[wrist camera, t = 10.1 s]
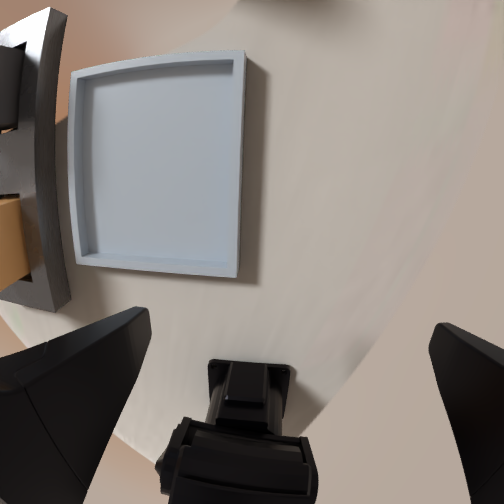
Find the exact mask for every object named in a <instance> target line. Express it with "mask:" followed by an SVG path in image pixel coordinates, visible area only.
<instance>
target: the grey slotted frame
mask: <svg viewBox="0 0 504 504" xmlns="http://www.w3.org/2000/svg"><path fill="white" fill-rule="evenodd" d="M67 16H68V15H66V14H64V13H62V12H60V11H57V10H55V9H53V8H50V7H49V8H47V9H45V10H42V11H40V12H38V13H36V14H34V15H31V16H29V17H27V18H25V19H23V20H21V21H19V22H17V23H16V24H14V25H12V26H10V27H8V28H6V29H4V30H3V31H1V32H0V45H2V46H7V47H11V48H16V49H20V50H24V51H25V57H24V64H23V71H22V79H21V89H20V100H19V116H18V130H14V131H10V132H7V133H3V134H1V130H0V198H2V197H3V194H14V193H20V203H21V213H22V221H23V229H24V236H25V243H26V249H27V255H28V260H29V266H30V271H31V272H30V273H28V274H27V275H25V276H23V277H22V278H20V279H19V280H17V281H16V282H14V283H13V284H11V285H10V286H8V287H7V288H5V289H4V290H2V291H1V292H0V299H1V300H5V301H8V302H12V303H16V304H20V305H24V306H28V307H33V308H37V309H41V310H46V311H50V312H55V313H56V312H57V311H58V310H59V309H60V308H61V307H63V306H64V305H65V304H66V303H67V302H68V301H70V300H71V296H70V291H69V286H68V281H67V276H66V270H65V264H64V258H63V251H62V244H61V236H60V228H59V219H58V208H57V195H56V178H55V113H56V97H57V84H58V74H59V65H60V58H61V50H62V44H63V38H64V32H65V26H66V22H67Z"/></svg>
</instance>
